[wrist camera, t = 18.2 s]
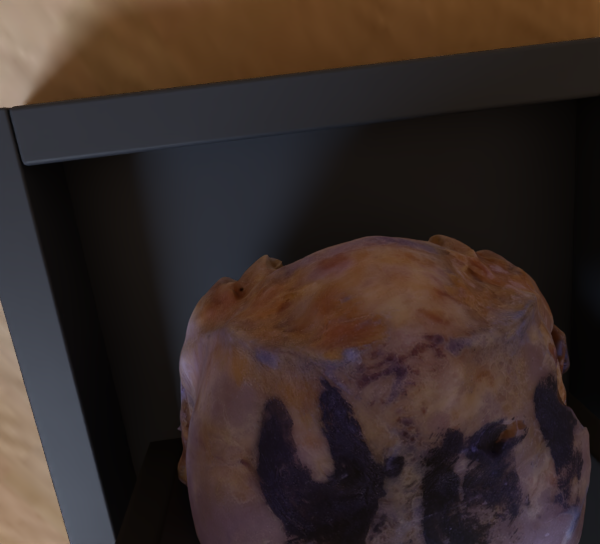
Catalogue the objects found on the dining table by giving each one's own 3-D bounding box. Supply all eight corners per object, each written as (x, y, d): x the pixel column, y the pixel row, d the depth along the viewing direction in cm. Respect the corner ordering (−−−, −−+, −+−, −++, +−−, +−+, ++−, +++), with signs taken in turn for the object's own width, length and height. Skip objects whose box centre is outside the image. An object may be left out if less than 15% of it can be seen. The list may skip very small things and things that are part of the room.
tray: (606, 44, 12) (696, 25, 10) (583, 634, 17) (639, 725, 14) (13, 114, 12) (-55, 114, 9) (161, 699, 16) (143, 804, 14)
